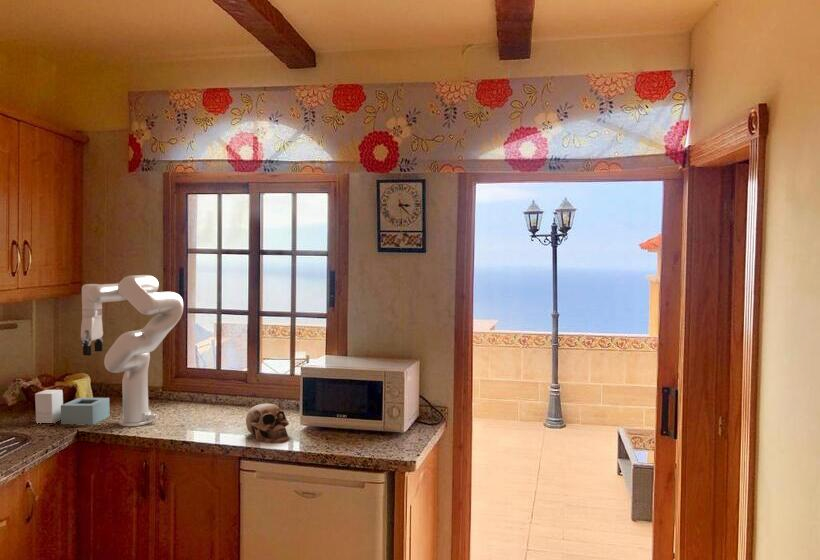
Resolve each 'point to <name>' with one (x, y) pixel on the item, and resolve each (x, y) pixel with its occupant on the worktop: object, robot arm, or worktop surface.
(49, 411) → the supplement box
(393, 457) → the worktop surface
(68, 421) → the box
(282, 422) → the brown skull
